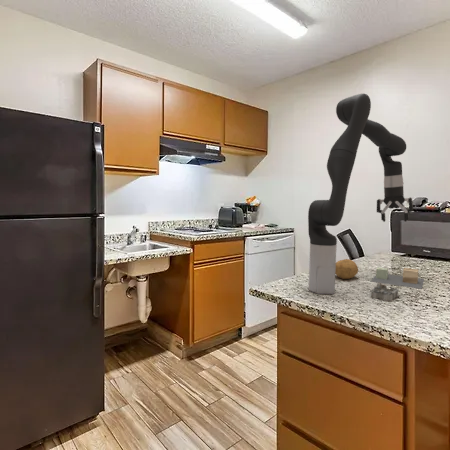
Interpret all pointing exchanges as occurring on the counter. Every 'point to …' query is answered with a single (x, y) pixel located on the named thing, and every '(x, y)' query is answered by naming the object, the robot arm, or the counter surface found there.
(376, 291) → the miniature stone castle
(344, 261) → the potato
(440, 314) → the counter surface
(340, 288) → the counter surface
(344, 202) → the robot arm
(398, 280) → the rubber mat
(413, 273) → the maple block
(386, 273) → the sage block
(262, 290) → the counter surface
